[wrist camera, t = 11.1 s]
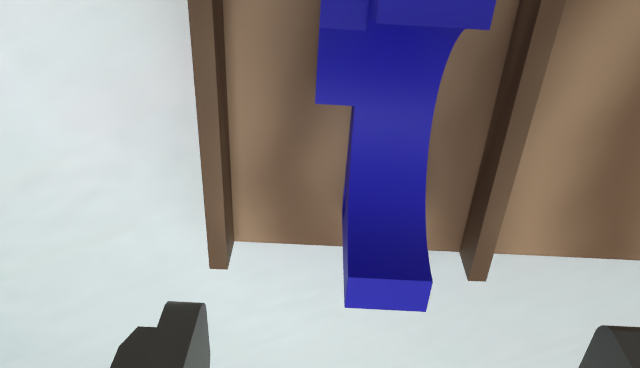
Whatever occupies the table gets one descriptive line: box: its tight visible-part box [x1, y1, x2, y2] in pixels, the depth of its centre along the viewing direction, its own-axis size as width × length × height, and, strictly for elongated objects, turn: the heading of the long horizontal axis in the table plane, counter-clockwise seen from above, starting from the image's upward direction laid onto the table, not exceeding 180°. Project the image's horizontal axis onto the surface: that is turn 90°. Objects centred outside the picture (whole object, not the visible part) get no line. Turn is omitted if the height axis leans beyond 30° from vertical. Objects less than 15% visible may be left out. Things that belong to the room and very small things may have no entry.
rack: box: [188, 0, 640, 281], centre depth 22 cm, size 24×16×3 cm, turn 87°
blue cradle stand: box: [315, 0, 496, 312], centre depth 20 cm, size 12×4×6 cm, turn 177°
